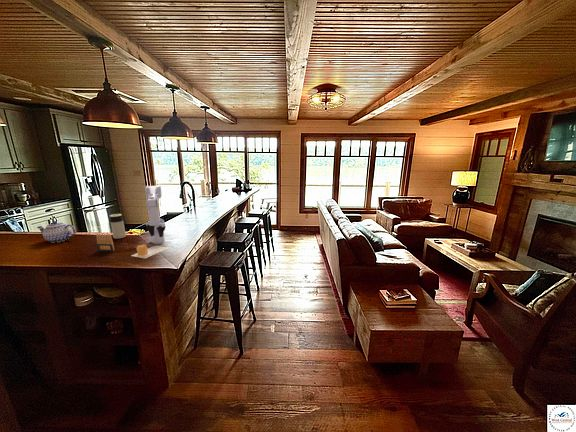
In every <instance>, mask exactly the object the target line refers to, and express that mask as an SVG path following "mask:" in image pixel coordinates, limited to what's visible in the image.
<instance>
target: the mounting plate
mask: <svg viewBox="0 0 576 432" xmlns="http://www.w3.org/2000/svg"><path fill="white" fill-rule="evenodd" d="M147 249H148V253H147V254H145V255H138V253H134V254H131V257H136V258H140V259H148V258H149V257H151V256H154V255H157V254H159V253H161V252H163V251H165V250H167V249H168V247H167V246H160V245H153V246H151V247H147Z"/></svg>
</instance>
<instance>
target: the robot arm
mask: <svg viewBox="0 0 576 432" xmlns="http://www.w3.org/2000/svg"><path fill="white" fill-rule="evenodd" d="M144 189H145V195H146V197H147V200H146V199H145V204H146V209H147V211H148V217H149V218H148V219H149V220H148V222H145V229H146V230H147V231H148V233H149V235H148V237H149V238H148V239H149V242H150V243H153V244H161V243H164V242H166V241H165V233H164V232H165V230H166V227H167V226H166V223H165V220H164V219H163V218H160V217H161V216H160V207H159V200H160V199H161V198H162V187H161V185H146V186H145V187H144Z"/></svg>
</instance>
